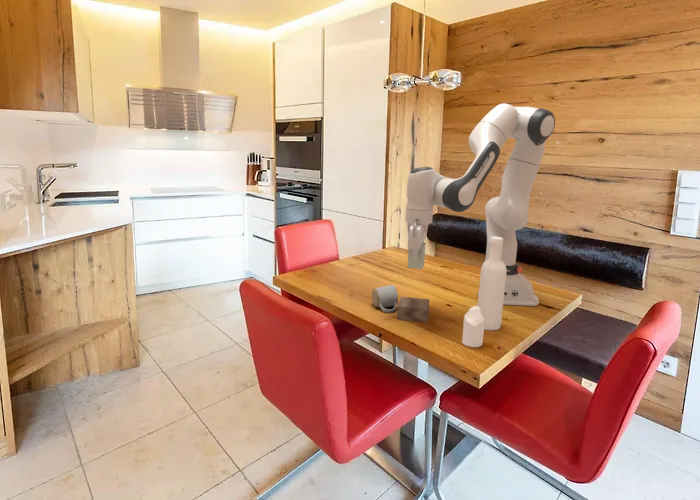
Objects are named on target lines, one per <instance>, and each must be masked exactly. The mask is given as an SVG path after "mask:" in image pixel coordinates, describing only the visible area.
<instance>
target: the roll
mask: <svg viewBox="0 0 700 500" xmlns="http://www.w3.org/2000/svg"><path fill="white" fill-rule="evenodd" d="M484 321H485V320H484V318H483V316H482V314H481V309H480V308H479V307H478V304H477V305H474V306H471V307H470V308H469V309H468V311H467V312H466V313H465V314H464V317H463V326H462V327H463V328H462V337H461V338H462V339H461V343H462V344H463V345H464V346H466V347H469V348H479V347H480V348H481V347H482V346H483V341H484V340H483V339H484V334H485V333H484V331H485V330H484Z"/></svg>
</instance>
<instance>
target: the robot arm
mask: <svg viewBox="0 0 700 500" xmlns="http://www.w3.org/2000/svg"><path fill="white" fill-rule="evenodd" d="M555 126H556V118H555V115H554V113H553V112H552V111H550V110H549V109H545V108H542V107H541V108H538V107H533V106H526V105H525V106H513V105H511V104H509V103H499V104H498V105H496V106H494V107H493V108H492V109H491V110H489V111H488V113H486V114H485V115H484V116H483V118H482V119H480V121H479V122H478V123H477V124H476V126H475V127H474V128H473V130H472V131H471V133H470V135H469V136H468V146H469V149H470V151H471V152H472V153H473V154H474V155H475V158H474V160H473V161H472V163H471V165H470V166H468V169H467V171H466V172H465V173H464V175H463V176H461V177H458V178H451V177H446V176H444V175H441V174H440V173H438V172H437V171H436V170H435V169H434V168H433V167H431V166H423V167H417V168H413V169H411V171H410V172H409V174H408V177H407V184H406V198H407V201H406V206H405V216H404V217H405V218H404V219H405V220H404V221H405V223H407V224H408V227H409V230H408V231H409V232H408V239H407V249H409V250H412V255H413V257H412V259H413V260H415V261H417V260H418V256H419V255H418V253H419V250H420V248H421V246H422V244H423V242H424V243H425V240H426V238H427V234H428V229H429V225H431V224H432V223H433V213H434V206H439V207H441V208H445V209H449V210H451V211H453V212H456V213H462V212H465V211H467V210H469V209H470V208H471V207H472V205H474V202H475V200H476V197H477V195H478V192H479V190H480V188H481V186H482V185H483V184H484V181H485V180H486V179H487V177H488V176H489V174H490V172H491V171H492V169H493V168H494V166H495V165H496V163H497V161H498V159H499V157H500V155H501V148H502V147H503V146H504V145H505V143H506V142H507V141H508V139H509V138H510V139H514V140H515V143H514V146H513V148H512V150H511V152H510V154H509V158H508V160H507V162H506V164H505V165H506V166H505V168H504V171H503V173H502V177H501V190H500V195H499V196H496V197H495V196H494V197H493V198H491V199H489V200H488V201H487V202H486V203H485V206H484V213H485V224H486V225H485V226H486V251H485V259H484V261H483V263H484V262H485V261H486V260H487V259H489V253H490V240H491V237H502V238H503V244H502V253H501V260H502V261H503V262H504V264H505V266H506V270H507V272H506V281H505V290H504V299H503V306H504V305H506V306H508V305H510V306H526V307H527V306H530V307H535V306H538V305H539V304H540V298H539V297H538V295H537V294H535V293H534V288H533V285H532V283H531V282H530V280H529V279H527V278H526V277H524V276H523V275H522V274H521V273H523V271H524V270H523V267H522V266H521V265H519V263H517V262H516V260H517V253H518V241H517V235H516V231H519V230H522V229H523V228H524V227H526V225H527V224H528V221H529V219H530V214H529V205H530V198H531V192H532V189H533V185H534V183H535V180H536V177H537V173H538V171H539V169H540V165H541V163H542V161H543V156H544V152H545V148H546V140H548V139H549V138H550V136H551V135H552V134H553V132H554V130H555ZM477 295H478V296H479V291H478V292H477Z"/></svg>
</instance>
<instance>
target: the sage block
mask: <svg viewBox="0 0 700 500" xmlns="http://www.w3.org/2000/svg"><path fill="white" fill-rule="evenodd" d="M407 249H408V248H407ZM418 255H419V256H418V260H417V261H415V260H413V259H412V257H413V255H412V250H409V249H408V254H407V268H408V269H418V270H424V267H425V257H426V256H425V255H426V242H425V241H424V242H423V244H422V246H421V248H420V250H419V253H418ZM407 268H406V269H407Z"/></svg>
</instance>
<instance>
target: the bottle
mask: <svg viewBox="0 0 700 500" xmlns="http://www.w3.org/2000/svg"><path fill="white" fill-rule="evenodd" d="M502 244H503V238H502V237H491V240H490V253H489V259H487V260H486V259H485V260H486V261H485V260H484V261H485V262H484V261H483V263H482V265H481V269H480V275H479V276H480V278H479V286H478V287H479V288H478V292H479V295H478V299H477V306H478V307H479V308H480V309H481V314H482V316H483V318H484V320H485V321H484V331H498V330H500V329H501V326H502V320H503V319H502V314H503V307H504V304H503V299H504V290H505V281H506V272H507V270H506V266H505V264H504V262H503V261H502V260H501V253H502Z"/></svg>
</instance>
